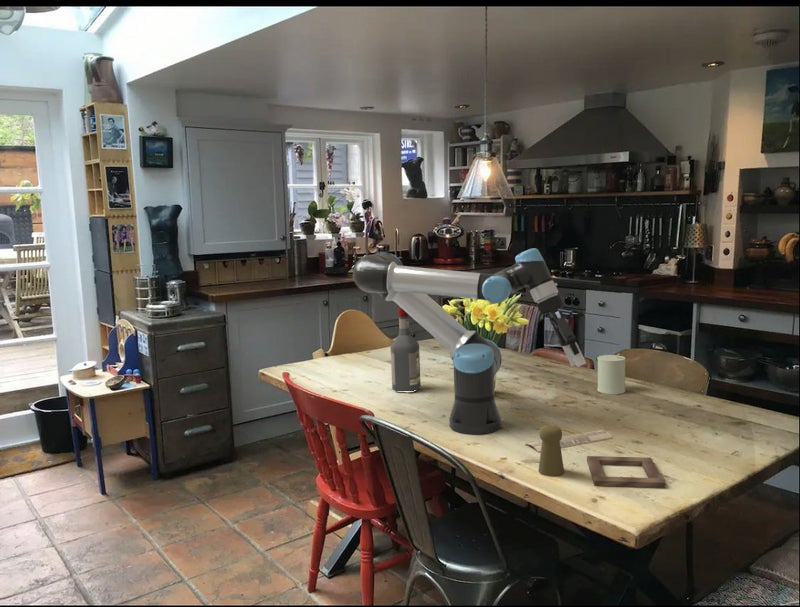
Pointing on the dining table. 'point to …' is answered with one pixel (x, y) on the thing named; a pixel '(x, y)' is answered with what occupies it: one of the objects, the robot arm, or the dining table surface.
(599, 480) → the cutout board
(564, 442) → the newspaper
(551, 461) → the olive pawn
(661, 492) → the dining table surface
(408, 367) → the liquor
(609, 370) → the can
